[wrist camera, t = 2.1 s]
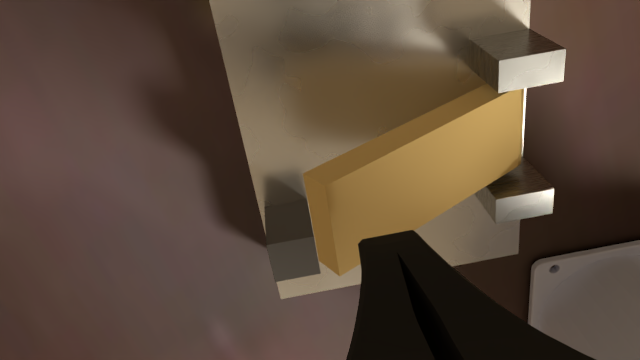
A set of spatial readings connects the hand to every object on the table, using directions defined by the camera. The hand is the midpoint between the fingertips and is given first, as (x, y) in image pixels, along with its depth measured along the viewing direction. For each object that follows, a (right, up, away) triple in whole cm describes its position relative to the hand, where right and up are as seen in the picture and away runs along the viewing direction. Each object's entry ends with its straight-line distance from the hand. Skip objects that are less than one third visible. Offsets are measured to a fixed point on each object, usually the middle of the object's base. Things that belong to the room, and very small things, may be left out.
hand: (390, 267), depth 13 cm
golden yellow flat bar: (+1, +3, +4) cm, 5 cm away
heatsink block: (0, +5, +9) cm, 10 cm away
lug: (-3, +1, +7) cm, 8 cm away
